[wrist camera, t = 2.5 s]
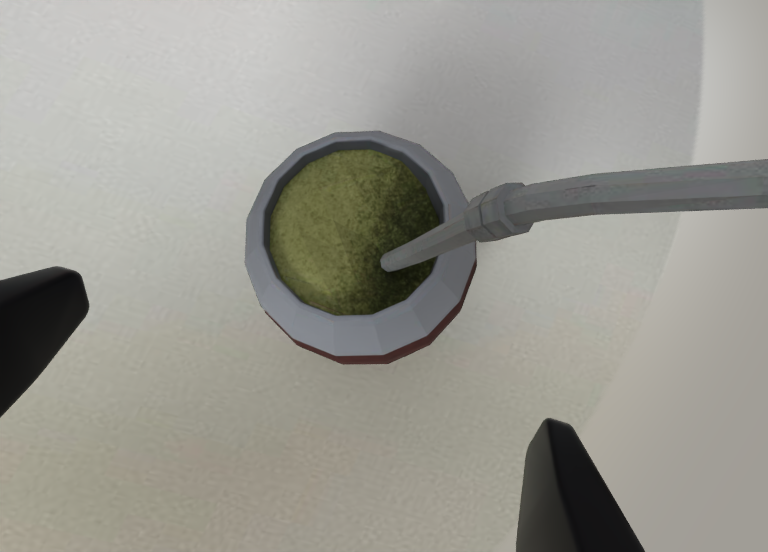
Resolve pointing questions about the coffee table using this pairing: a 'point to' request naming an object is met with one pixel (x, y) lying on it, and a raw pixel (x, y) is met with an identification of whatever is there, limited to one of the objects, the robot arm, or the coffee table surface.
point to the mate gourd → (422, 235)
